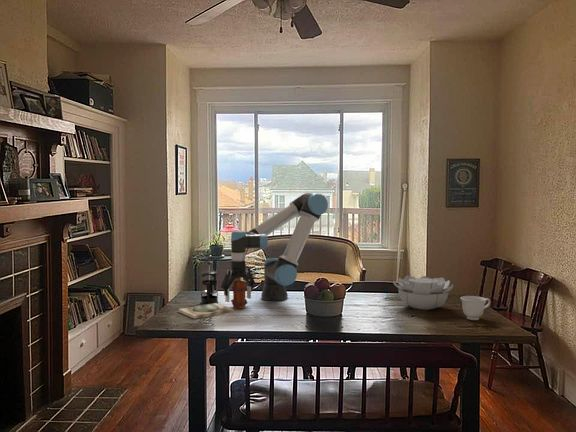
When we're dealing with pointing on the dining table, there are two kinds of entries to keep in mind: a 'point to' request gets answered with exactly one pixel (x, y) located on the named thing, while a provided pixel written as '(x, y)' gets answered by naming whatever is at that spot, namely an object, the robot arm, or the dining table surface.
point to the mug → (239, 294)
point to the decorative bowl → (423, 291)
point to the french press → (209, 287)
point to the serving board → (205, 310)
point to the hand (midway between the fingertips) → (238, 300)
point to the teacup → (474, 306)
